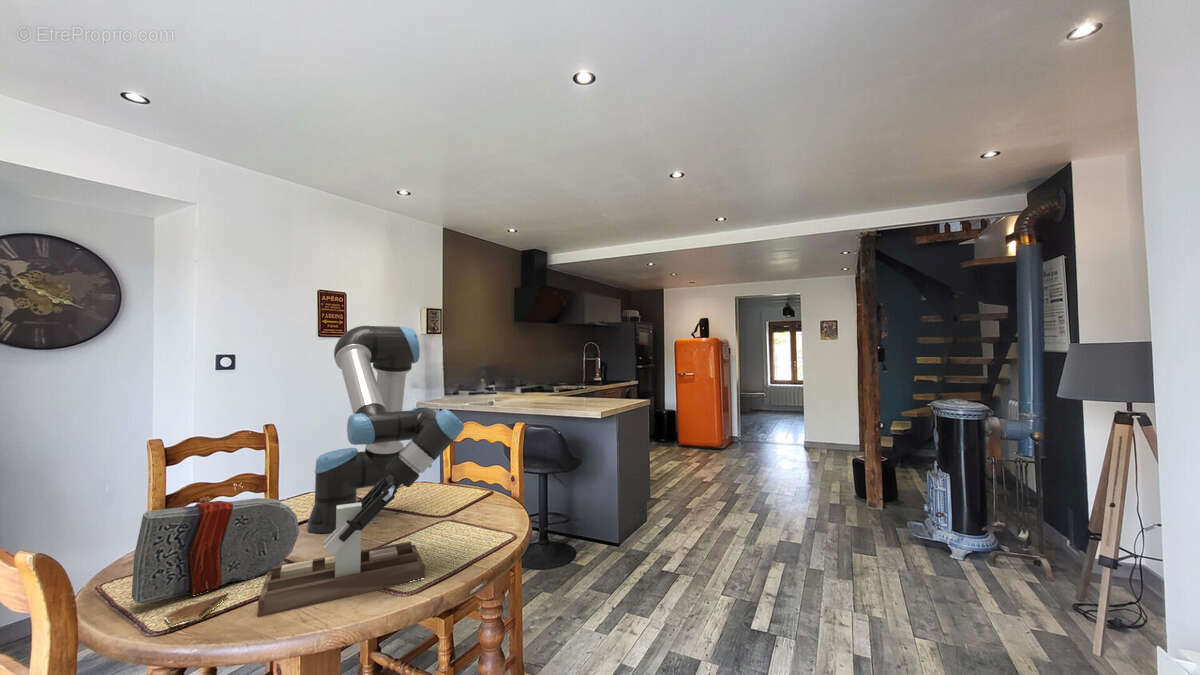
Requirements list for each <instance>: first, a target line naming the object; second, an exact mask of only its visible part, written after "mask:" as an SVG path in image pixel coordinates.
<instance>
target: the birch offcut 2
mask: <svg viewBox="0 0 1200 675" xmlns="http://www.w3.org/2000/svg"><path fill="white" fill-rule="evenodd" d="M325 557H326V558H325V570H326V569H331V568H335V556H333V555H331V557H328V556H325Z"/></svg>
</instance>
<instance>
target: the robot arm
mask: <svg viewBox="0 0 1200 675" xmlns="http://www.w3.org/2000/svg"><path fill="white" fill-rule="evenodd" d="M420 348H421V347H420V343H419V337H418V335H417V333H416V331H415V330H414V329H413V328H410V327H406V326H405V327H404V326H390V325H389V326H387V325H386V326H382V325H380V326H379V325H359V326H356V327H354V328H351V329H349V330H347V331H346V332H345V333H344V334H342V335H341V336H340V337H339V339H338V341H337V343H336V344H335V347H334V351H333V357H334V362H335V364H336V366H337V367H338V368H339V369H340V370H341V372H342V375H343V380H344V384H345V387H346V391H347V395H348V399H349V403H350V407H351V409H352V413H353V414H351V415H350V416H349V417H348V419H347V423H346V425H347V426H346V432H347V439H348V442H349V444H351V445H353V446H357V445H360V446H363V445H365V447H364V448H365V449H364V450H363V451H359V450H358V449H357V448H356V447H347V448H345V447H344V448H340V449H336V450H331V451H328V452H325V453H322V454H320V455H319V456H318V457H317V459H316V461H315V462H316V463H315V469H314V473H315V474H314V475H315V484H314V504H313V506H312V509H311V512H310V515H309V517H308V521H307V531H308V532H309V533H312V534H330V535H329V536H328V537H327V538H326V539H324V541H323V544H325V545H324V546H323V550H325V551H326V552H328V554H330V555H331V556H334V555H335V553H336V552H337V551H338V550H339V549H340V548H341V547H342V546H343V545H344V544H345V543H346V542H347V541H348V540H349V539H350V538H351V537H352V536H353V535H354V533H355V532H356V531H358V530H360V531H361V532H362V530H364V529H365V527H366V526H367V525H368V524H369V523H370V522H371V521H373V519H374V518H375V517H376V516H377V515H378V514H379V513H380V512H382V510H383V509H385V507H386V506H387V505H388V504H390V503H391V502H392V501H393V500H394V499H395V497H396V494H397V492H398V489H399V487H401V485H403V486H404V487H406V488H411V486H412V485H413V484H414V483H415V482H416V481H417V480H418V479H419V478H420V474H423V473H425V471H426V470H427V469H428V468H431V467H433V463H434V462H435V461H436V459H438V458H439V457H440V456H441V455H442V453H443V452H444V451H445V450H446V449H447V448H448V447H449V446H450V445H451V444H452V443H453V442H454V441H455V440H457V438H458V436H459V435H460V434H461V433H462V432H463V431H464V430H465V424H464V423H463V422H462V421H461V419H460V418H458V416H457V415H455V414H454V413H453V412H452V411H451V410H449V409H448V408H443V409H442V410H440V411H439V412H436V411H435V410H434V409H432V408H429V407H426V406H422V405H421V406H416V407H414V408H412V409H411V410H403V407H404V406H403V404H404V398H405V397H404V396H405V386H406V384H405V383H406V377H407V376H406V375H407V374H408V373H409V372H410V371H412V365H413V364H416V363H417V362H419V359H420V353H421V351H420V350H421V349H420ZM373 370H375V371H376V372H377V375H376V376H375V374H374V371H373ZM402 441H409V442H408V443H407V444H406V445H405V446H404V443H403V442H402ZM371 487H372V488H371ZM363 488H371V489H370V490H369V491H368V492H367V493H366V494H365V495H364V496H363V497H362V498H361V499H360V500H358V497H357V492H358V491H357V490H358V489H363ZM358 501H359V502H361V504H362V510H361V511H360V512H359V513H358V514H357V515H356V516H355V517H354V518H353V519H352V521H349V520H347V521H346V523H347V524H346V525H345V526H344V527H343V528H342V529H341V530H340V531H339V532H338V533H337V534H336V506H337V505H344V504H351V503H359V502H358Z"/></svg>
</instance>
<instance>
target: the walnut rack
mask: <svg viewBox="0 0 1200 675" xmlns="http://www.w3.org/2000/svg"><path fill="white" fill-rule="evenodd" d="M392 547H396V549H397V556H393V557H388V558H383V559H377V560H372V561H369V552H370V551H376V550H381V549H386V548H392ZM331 556H332V555H331ZM331 556H330V555H329V556H324V557H323V556H322V557H318V558H312V559H311V560H313V572H310V573H305V574H300V575H295V576H290V577H284V578H280V572H281V568H282V565H287V564H288V563H286V564H279V565H278V566H273V568H272V570H270V571H268V572H266V576H265V579H264V582H263V585H262V588H261V592H260V594H259V599H258V603H257V606H258V607H257V617H262V616H267V615H272V614H277V613H280V612H285V611H289V610H294V609H298V608H299V609H300V608H303V607H308V606H312V605H316V604H317V605H318V604H320V603H321V604H322V603H326V602H329V601H334V600H338V599H339V600H340V599H342V598H343V599H344V598H349V597H353V596H356V595H362V594H366V593H370V592H374V591H379V590H384V589H388V588H387V587H389V588H392V587H391V586H393V587H396V586H395V585H398V586H401V585H400V584H402V585H405V584H404V583H407V584H409V583H408V582H410V581H413V580H418V579H421V578H425V579H426V576H425V575H426V566H425V564H424V562H423V559H422V557H421V555H420V553H419V551H418V548H417V546H416V545H415V544H413V543H412V542H411V541H407V542H400V543H396V544H390V545H384V546H379V547H374V548H373V547H372V548H368V549H361V566H360V573H356V574H351V575H347V576H342V577H337V578H335V568H331V569H326V570H325V558H326V557H331ZM334 556H335V554H334ZM309 560H310V559H307V560H302V561H300V562H304V561H309ZM298 562H299V561H296V562H290V563H289V564H293V563H298Z"/></svg>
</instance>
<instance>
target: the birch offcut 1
mask: <svg viewBox="0 0 1200 675" xmlns="http://www.w3.org/2000/svg"><path fill="white" fill-rule="evenodd" d="M308 560H309V561H306V560H303V561H304V562H301V561H297V562H298V563H295V562H292V563H293V564H290V563H286V564H287V565H284V564H281V565H282V568H281V572H280V578H284V577H290V576H295V575H300V574H305V573H310V572H313V560H312V559H308Z"/></svg>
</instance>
